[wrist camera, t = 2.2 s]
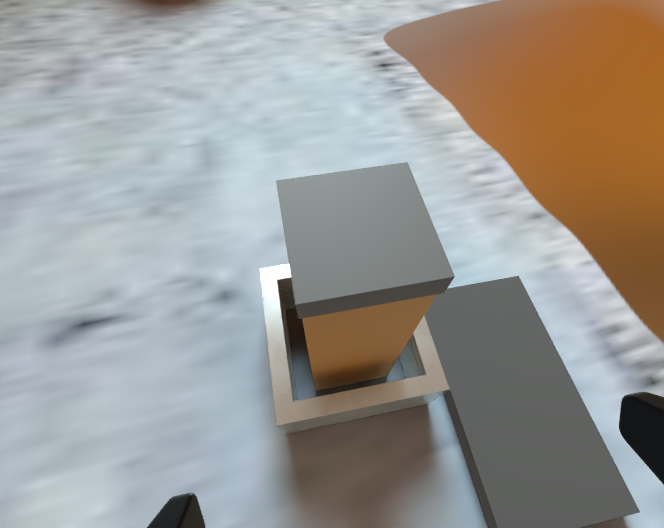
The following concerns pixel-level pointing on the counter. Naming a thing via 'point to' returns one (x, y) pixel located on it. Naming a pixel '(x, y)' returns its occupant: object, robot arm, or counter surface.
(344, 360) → the grey capped orange post
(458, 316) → the rubber mat
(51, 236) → the counter surface
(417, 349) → the socket
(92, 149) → the counter surface
